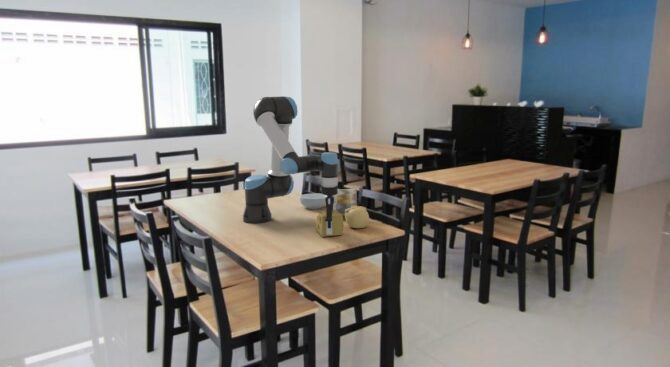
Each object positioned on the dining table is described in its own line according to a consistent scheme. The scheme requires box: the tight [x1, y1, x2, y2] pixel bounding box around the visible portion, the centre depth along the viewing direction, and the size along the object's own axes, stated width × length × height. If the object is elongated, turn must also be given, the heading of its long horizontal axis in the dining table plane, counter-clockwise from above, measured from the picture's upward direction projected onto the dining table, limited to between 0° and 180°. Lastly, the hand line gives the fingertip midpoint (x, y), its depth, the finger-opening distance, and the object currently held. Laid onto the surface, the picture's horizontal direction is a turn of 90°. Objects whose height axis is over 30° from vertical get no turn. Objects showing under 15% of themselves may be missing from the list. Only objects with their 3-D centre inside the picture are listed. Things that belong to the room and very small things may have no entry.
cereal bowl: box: [299, 192, 327, 210], centre depth 271 cm, size 17×17×7 cm
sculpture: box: [345, 205, 370, 229], centre depth 231 cm, size 12×12×11 cm
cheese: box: [316, 210, 344, 238], centre depth 220 cm, size 10×11×10 cm
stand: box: [333, 188, 358, 221], centre depth 246 cm, size 14×6×16 cm, turn 88°
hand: (329, 230), depth 220 cm, fingers closed on cheese, 12 cm apart
